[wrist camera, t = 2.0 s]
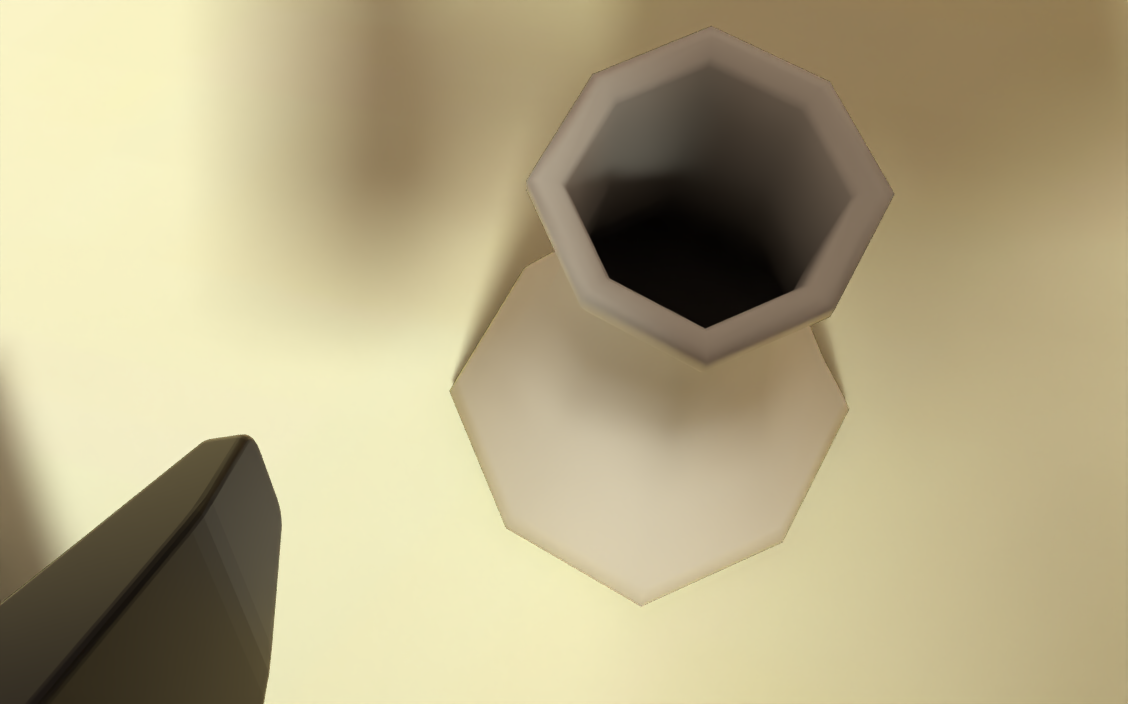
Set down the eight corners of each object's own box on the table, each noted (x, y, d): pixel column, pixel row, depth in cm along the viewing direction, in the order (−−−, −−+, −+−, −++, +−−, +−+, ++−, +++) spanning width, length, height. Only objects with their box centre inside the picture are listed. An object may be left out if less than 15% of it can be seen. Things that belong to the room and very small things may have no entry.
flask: (638, 679, 17) (700, 788, 7) (387, 390, 18) (163, 165, 9) (911, 415, 18) (1282, 207, 8) (654, 163, 20) (716, -261, 10)
